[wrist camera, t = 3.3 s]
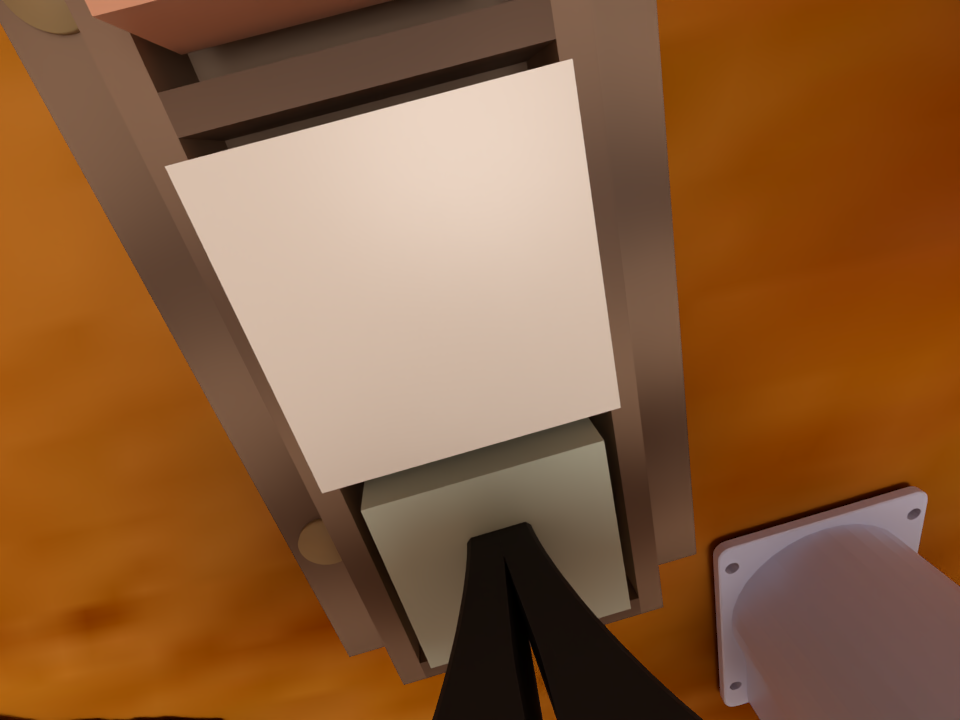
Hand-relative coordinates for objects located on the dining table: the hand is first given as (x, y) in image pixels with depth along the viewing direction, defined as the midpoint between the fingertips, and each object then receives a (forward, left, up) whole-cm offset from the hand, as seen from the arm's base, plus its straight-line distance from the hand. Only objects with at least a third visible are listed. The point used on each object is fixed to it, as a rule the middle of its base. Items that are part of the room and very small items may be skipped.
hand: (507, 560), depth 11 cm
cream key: (+6, 0, -1) cm, 7 cm away
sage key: (0, 0, -2) cm, 2 cm away
